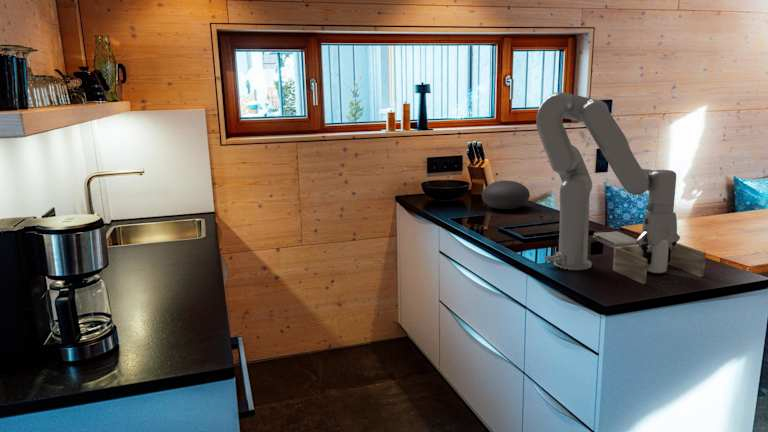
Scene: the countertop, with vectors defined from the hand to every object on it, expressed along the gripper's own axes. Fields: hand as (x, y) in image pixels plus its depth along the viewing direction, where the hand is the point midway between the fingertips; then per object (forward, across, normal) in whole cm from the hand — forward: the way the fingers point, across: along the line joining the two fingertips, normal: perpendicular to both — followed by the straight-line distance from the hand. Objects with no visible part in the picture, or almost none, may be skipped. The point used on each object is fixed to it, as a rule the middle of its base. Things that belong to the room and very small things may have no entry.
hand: (656, 261), depth 183 cm
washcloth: (+5, +12, +38) cm, 40 cm away
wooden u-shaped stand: (+4, 0, 0) cm, 4 cm away
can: (+3, 0, 0) cm, 3 cm away
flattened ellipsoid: (+5, -1, +114) cm, 114 cm away
